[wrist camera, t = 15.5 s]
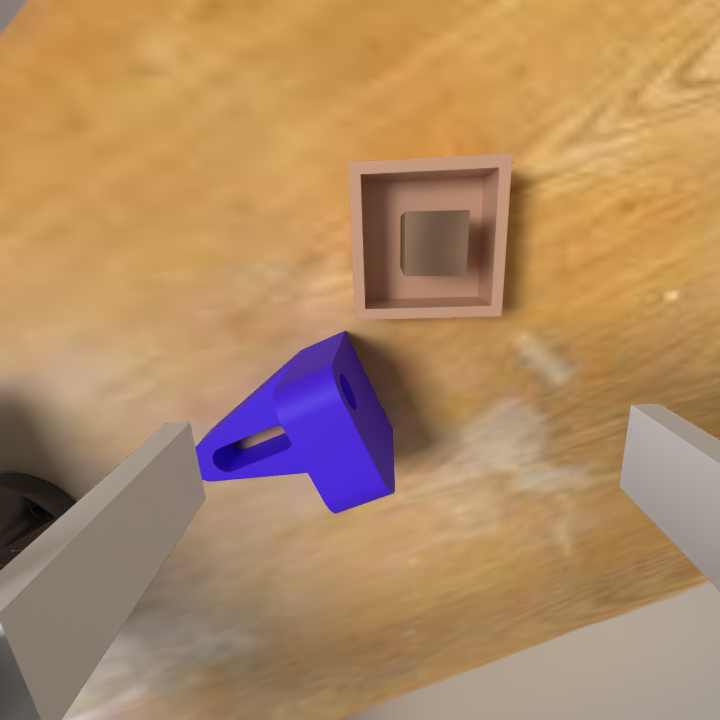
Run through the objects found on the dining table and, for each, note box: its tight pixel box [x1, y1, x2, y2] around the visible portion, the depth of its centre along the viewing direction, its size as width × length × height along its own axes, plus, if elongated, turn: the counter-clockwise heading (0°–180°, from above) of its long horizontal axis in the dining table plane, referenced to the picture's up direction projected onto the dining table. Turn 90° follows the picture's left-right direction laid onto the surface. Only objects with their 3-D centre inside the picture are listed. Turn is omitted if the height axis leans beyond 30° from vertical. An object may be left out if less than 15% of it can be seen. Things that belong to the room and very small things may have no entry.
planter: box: [348, 154, 512, 320], centre depth 32 cm, size 11×11×6 cm
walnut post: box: [400, 210, 470, 276], centre depth 30 cm, size 4×4×8 cm
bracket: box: [195, 331, 395, 513], centre depth 34 cm, size 18×11×12 cm, turn 115°
